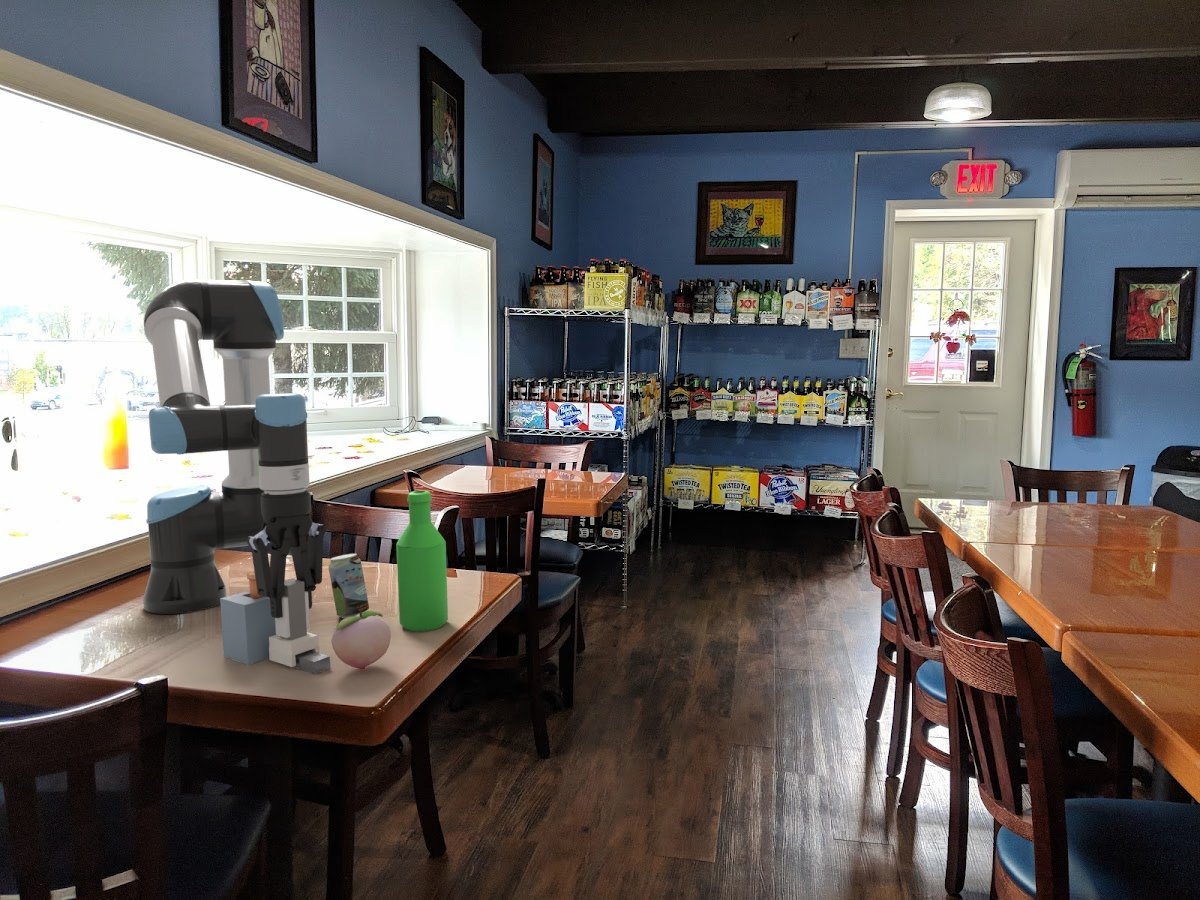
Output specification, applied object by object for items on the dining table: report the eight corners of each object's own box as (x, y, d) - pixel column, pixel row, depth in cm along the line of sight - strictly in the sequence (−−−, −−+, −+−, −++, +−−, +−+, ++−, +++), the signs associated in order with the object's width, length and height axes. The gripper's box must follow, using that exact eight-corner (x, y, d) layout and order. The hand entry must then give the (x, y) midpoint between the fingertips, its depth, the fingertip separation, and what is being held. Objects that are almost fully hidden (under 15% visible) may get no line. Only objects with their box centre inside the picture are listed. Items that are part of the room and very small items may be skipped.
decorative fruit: (367, 683, 130) (364, 620, 129) (324, 676, 133) (321, 614, 132) (403, 663, 139) (401, 603, 138) (362, 656, 142) (360, 598, 141)
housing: (223, 656, 143) (220, 598, 142) (276, 639, 151) (273, 584, 150) (248, 664, 139) (244, 605, 138) (301, 647, 147) (298, 590, 146)
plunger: (244, 603, 143) (242, 574, 143) (263, 598, 146) (261, 569, 146) (256, 606, 141) (255, 577, 141) (276, 601, 144) (274, 572, 144)
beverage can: (360, 622, 160) (357, 559, 159) (324, 620, 162) (321, 558, 160) (375, 612, 166) (372, 551, 165) (340, 610, 168) (337, 550, 166)
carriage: (269, 659, 139) (265, 583, 138) (297, 650, 144) (293, 576, 142) (292, 667, 136) (287, 588, 134) (319, 657, 140) (315, 581, 139)
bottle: (431, 635, 152) (427, 497, 149) (390, 630, 155) (384, 494, 152) (456, 620, 161) (452, 489, 158) (416, 615, 164) (412, 487, 161)
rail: (269, 659, 141) (268, 647, 141) (285, 653, 144) (284, 642, 144) (314, 674, 134) (314, 662, 134) (330, 668, 137) (329, 656, 137)
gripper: (253, 499, 128) (262, 651, 130) (341, 485, 141) (348, 623, 144) (225, 495, 132) (234, 642, 135) (313, 481, 145) (320, 615, 148)
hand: (293, 632), depth 139 cm, fingers closed on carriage, 3 cm apart
